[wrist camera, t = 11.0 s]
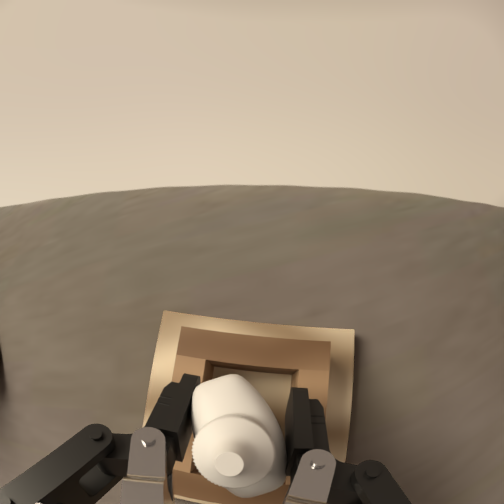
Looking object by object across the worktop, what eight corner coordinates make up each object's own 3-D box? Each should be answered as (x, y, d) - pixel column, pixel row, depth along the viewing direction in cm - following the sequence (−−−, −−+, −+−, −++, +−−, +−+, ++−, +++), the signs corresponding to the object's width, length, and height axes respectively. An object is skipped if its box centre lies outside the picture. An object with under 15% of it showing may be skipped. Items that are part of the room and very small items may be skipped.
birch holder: (332, 505, 16) (351, 527, 11) (143, 482, 17) (115, 498, 12) (349, 333, 23) (371, 315, 19) (168, 315, 24) (148, 293, 20)
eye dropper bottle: (203, 456, 15) (132, 525, 4) (217, 378, 17) (162, 341, 7) (271, 466, 14) (299, 554, 4) (283, 387, 17) (334, 366, 7)
